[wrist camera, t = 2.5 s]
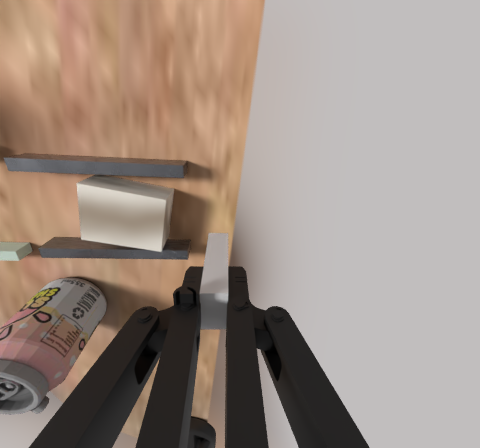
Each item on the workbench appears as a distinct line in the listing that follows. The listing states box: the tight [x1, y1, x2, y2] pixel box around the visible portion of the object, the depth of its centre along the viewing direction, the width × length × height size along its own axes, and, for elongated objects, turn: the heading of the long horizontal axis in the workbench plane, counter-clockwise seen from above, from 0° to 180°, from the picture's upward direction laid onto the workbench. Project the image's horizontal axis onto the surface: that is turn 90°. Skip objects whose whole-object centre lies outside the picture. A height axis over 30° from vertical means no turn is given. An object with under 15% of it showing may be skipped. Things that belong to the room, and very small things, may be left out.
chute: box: [4, 153, 191, 259], centre depth 24 cm, size 11×16×2 cm
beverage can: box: [0, 278, 107, 415], centre depth 26 cm, size 9×8×12 cm
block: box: [77, 174, 174, 252], centre depth 24 cm, size 6×8×4 cm
